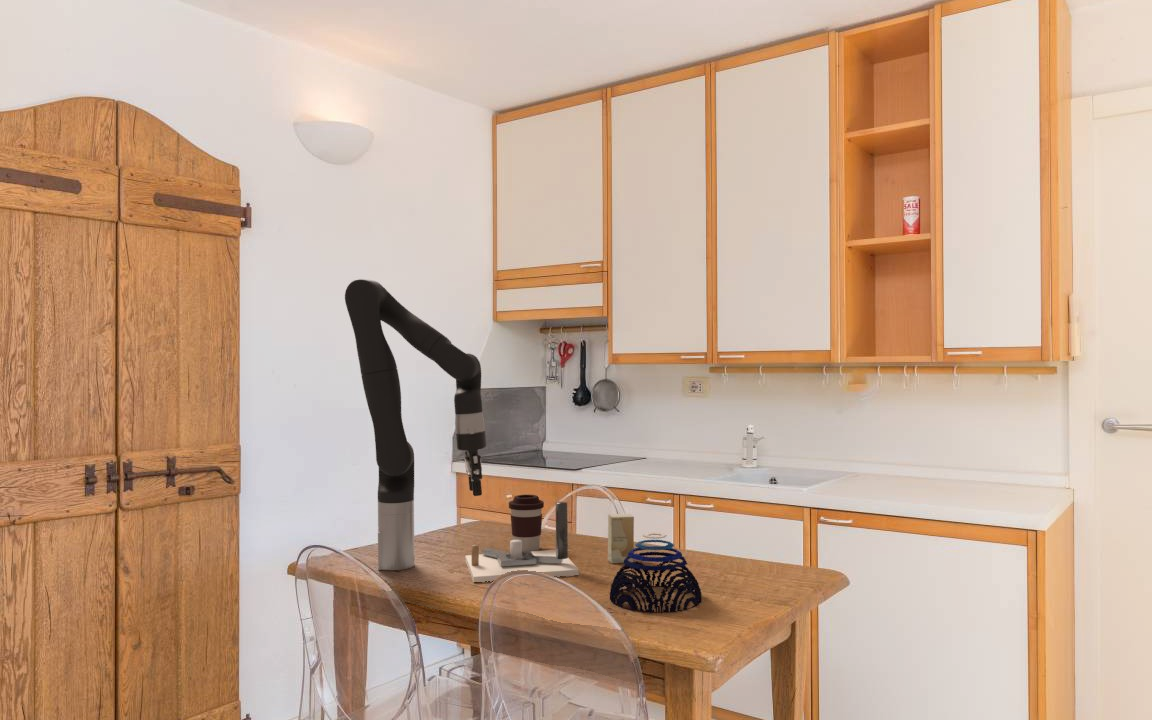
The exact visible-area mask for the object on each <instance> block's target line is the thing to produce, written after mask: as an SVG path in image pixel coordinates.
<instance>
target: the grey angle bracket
mask: <svg viewBox="0 0 1152 720" xmlns="http://www.w3.org/2000/svg"><path fill="white" fill-rule="evenodd" d="M568 519H569V518H568V502H567V501H557V502H555V550H556V557H555V556H534V555H533V554H532V553H531V551H525V552H522V558H518V559H510V551H508V552H507V551H504V550H503V551H502V550H498V549H494V548H490V547H486V548H481V549H480V551H481V552H480V553H481V554H483V555H487V556H491V557H495V558H497V560H498V562H499V563H500V565H501V566H514V565H529V564H536V563H562V562H563V559H567V558H569V550H568V549H569V547H568V546H569V545H568V543H569V542H568V541H569V535H568V533H569V531H568V530H569V529H568V528H569V527H568V525H569V524H568Z"/></svg>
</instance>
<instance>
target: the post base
mask: <svg viewBox="0 0 1152 720" xmlns="http://www.w3.org/2000/svg"><path fill="white" fill-rule="evenodd" d="M479 547H480V546H479V544H472V545H471V554H467V555H465V564H466V565H467V568H468V572H469V574H471V575H470V577H471V580H472V582H482V583H492V581H493V580H494V579H496V578H497V577H499V576H501V575H502V574H505V573H507V572H511V571H517V570H528V571H536V572H542V573H547V574H549V575H554V576H557V577H556V578H561V577H560V576H566V577H575V576H574V575H579V576H580V569H579V568H578V567H577V566H576V565H575V563H573V561H572V560H571V559H570V558H569V557H568V558H567V559H563V562H562V563H536V564H529V565H514V566H501V565H500V563H499V562H498V560H497V558H495V557H491V556H487V555H483V554H480V553H479V551H480V550H479V549H480V548H479ZM509 552H510V559H518V558H522V541H521V540H513V539H512V540H510V541H509ZM531 553H532V554H533V555H534V556H555V557H556V549H545V550H536V551H531ZM485 581H487V582H485ZM488 581H490V582H488Z"/></svg>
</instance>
